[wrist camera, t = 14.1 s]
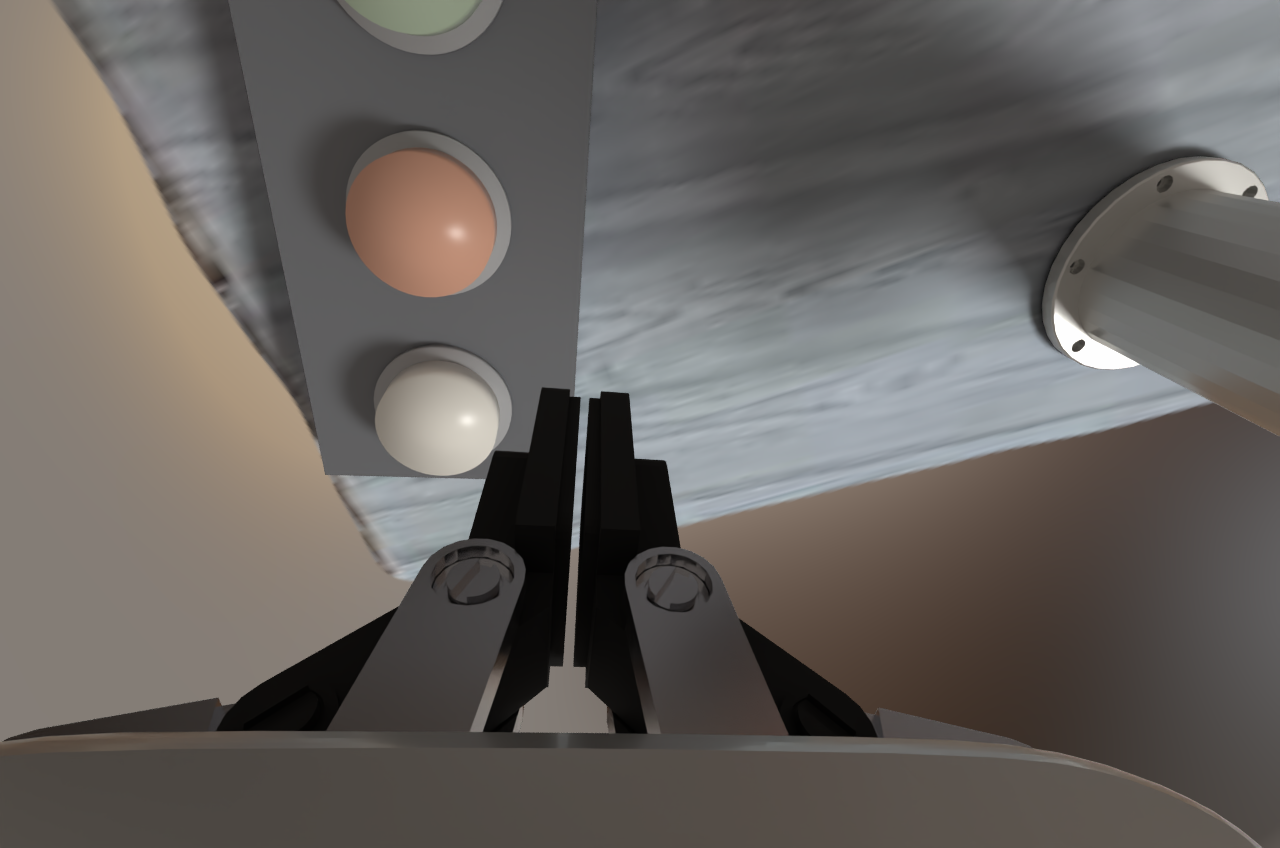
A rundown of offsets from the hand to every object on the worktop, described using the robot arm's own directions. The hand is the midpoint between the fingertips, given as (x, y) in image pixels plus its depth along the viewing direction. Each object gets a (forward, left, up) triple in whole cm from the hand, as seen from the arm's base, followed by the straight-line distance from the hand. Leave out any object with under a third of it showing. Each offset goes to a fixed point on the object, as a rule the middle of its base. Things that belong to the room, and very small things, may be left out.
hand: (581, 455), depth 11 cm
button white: (+7, +10, -20) cm, 23 cm away
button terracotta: (+7, 0, -20) cm, 21 cm away
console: (+7, 0, -22) cm, 23 cm away
